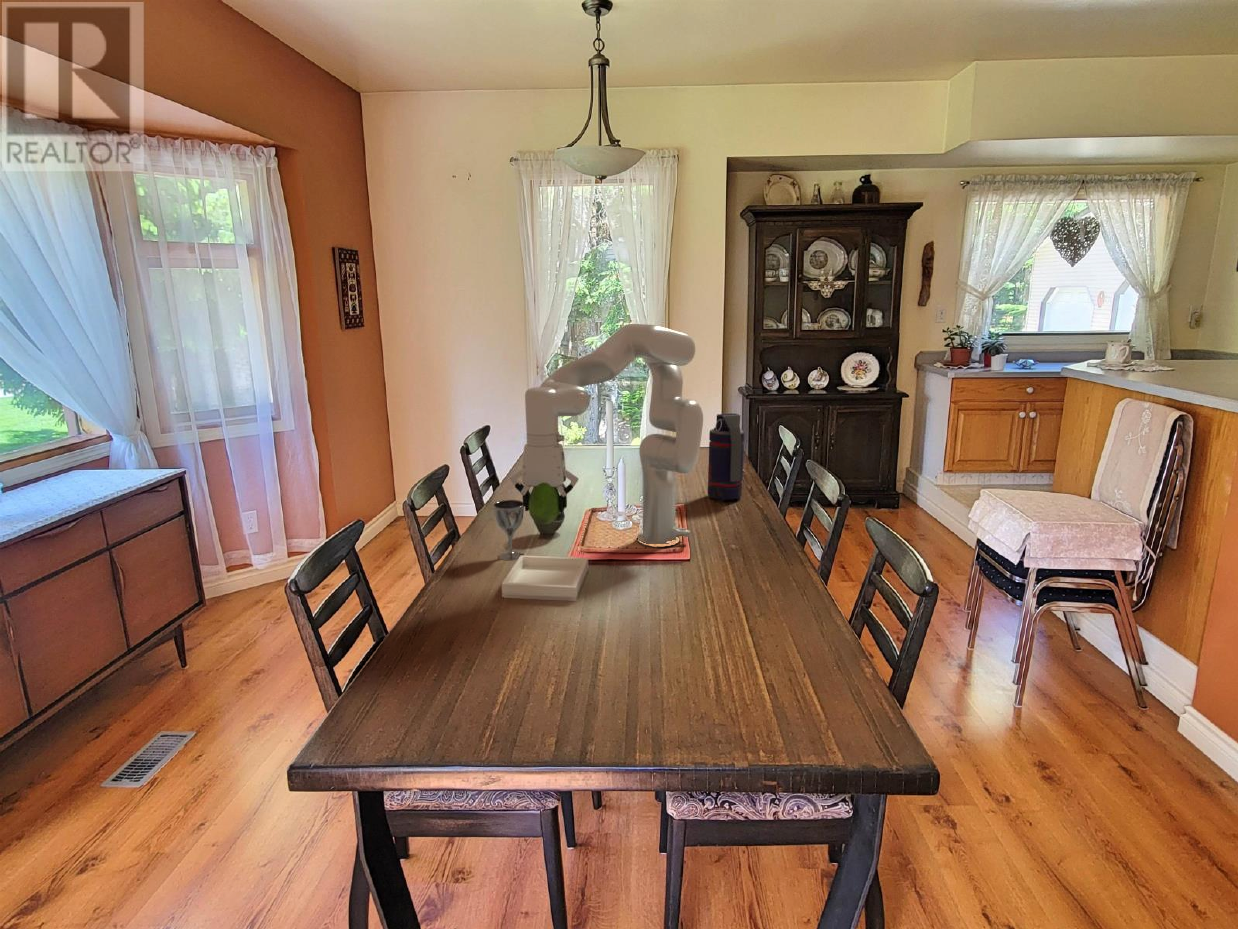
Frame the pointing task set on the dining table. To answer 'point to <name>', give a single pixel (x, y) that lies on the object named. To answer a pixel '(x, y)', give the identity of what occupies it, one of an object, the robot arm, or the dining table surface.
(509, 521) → the wine glass
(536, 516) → the avocado
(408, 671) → the dining table surface
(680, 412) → the robot arm
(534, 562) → the tray
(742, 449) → the grenade
